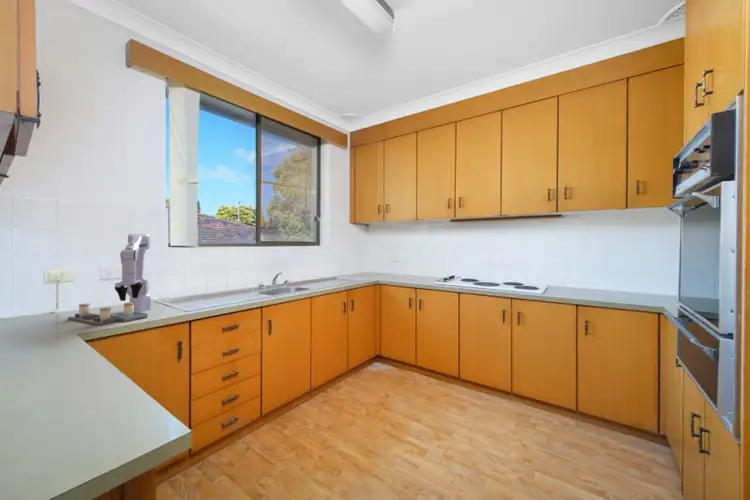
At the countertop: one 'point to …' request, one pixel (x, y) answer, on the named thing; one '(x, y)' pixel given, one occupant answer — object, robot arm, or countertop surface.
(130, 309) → the cylinder
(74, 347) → the countertop surface
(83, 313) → the cream capsule cylinder
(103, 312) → the fuse
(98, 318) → the clip rail
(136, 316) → the tray
